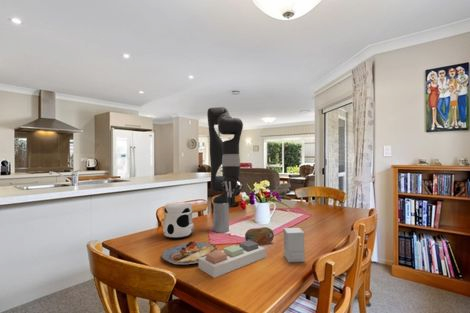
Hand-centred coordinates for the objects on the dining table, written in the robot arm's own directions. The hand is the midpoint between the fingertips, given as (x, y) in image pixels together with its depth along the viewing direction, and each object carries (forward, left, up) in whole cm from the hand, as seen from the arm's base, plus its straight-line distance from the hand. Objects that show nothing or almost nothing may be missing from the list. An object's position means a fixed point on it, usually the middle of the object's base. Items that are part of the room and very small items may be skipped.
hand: (231, 205), depth 106 cm
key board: (0, +1, -24) cm, 24 cm away
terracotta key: (0, -8, -21) cm, 23 cm away
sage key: (0, +1, -21) cm, 21 cm away
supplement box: (+15, +23, -25) cm, 37 cm away
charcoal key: (0, +10, -21) cm, 23 cm away
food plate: (-19, -9, -25) cm, 33 cm away
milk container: (-49, +1, -25) cm, 55 cm away
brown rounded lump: (-8, +25, -25) cm, 36 cm away
